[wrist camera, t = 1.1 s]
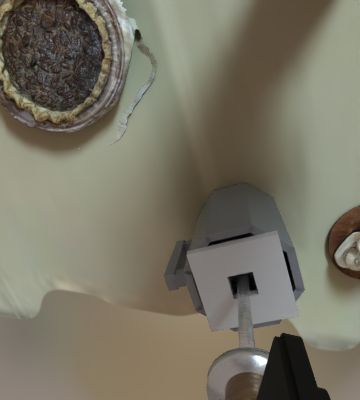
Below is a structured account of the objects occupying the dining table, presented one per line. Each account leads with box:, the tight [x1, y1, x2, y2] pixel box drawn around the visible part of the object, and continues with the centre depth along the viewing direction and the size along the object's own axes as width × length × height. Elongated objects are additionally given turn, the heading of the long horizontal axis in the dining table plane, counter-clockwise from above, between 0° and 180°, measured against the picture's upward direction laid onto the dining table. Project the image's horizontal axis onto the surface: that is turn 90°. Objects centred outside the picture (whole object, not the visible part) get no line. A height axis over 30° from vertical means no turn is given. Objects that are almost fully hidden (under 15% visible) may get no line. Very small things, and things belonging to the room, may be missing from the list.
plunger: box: [207, 233, 270, 400], centre depth 29 cm, size 8×8×23 cm
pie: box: [0, 0, 156, 150], centre depth 48 cm, size 28×27×5 cm
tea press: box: [164, 182, 305, 331], centre depth 44 cm, size 15×12×19 cm
